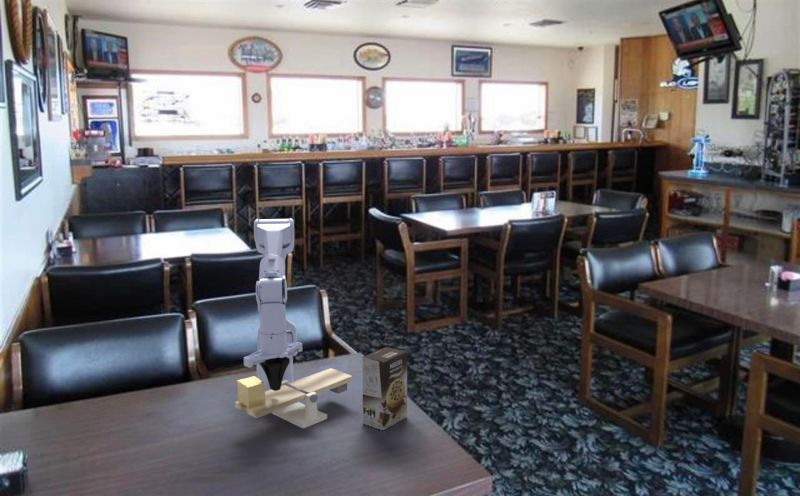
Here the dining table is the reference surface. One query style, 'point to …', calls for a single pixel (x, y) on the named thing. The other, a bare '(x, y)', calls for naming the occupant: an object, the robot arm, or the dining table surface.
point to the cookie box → (384, 388)
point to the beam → (299, 391)
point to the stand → (302, 411)
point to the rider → (251, 392)
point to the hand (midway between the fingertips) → (275, 389)
